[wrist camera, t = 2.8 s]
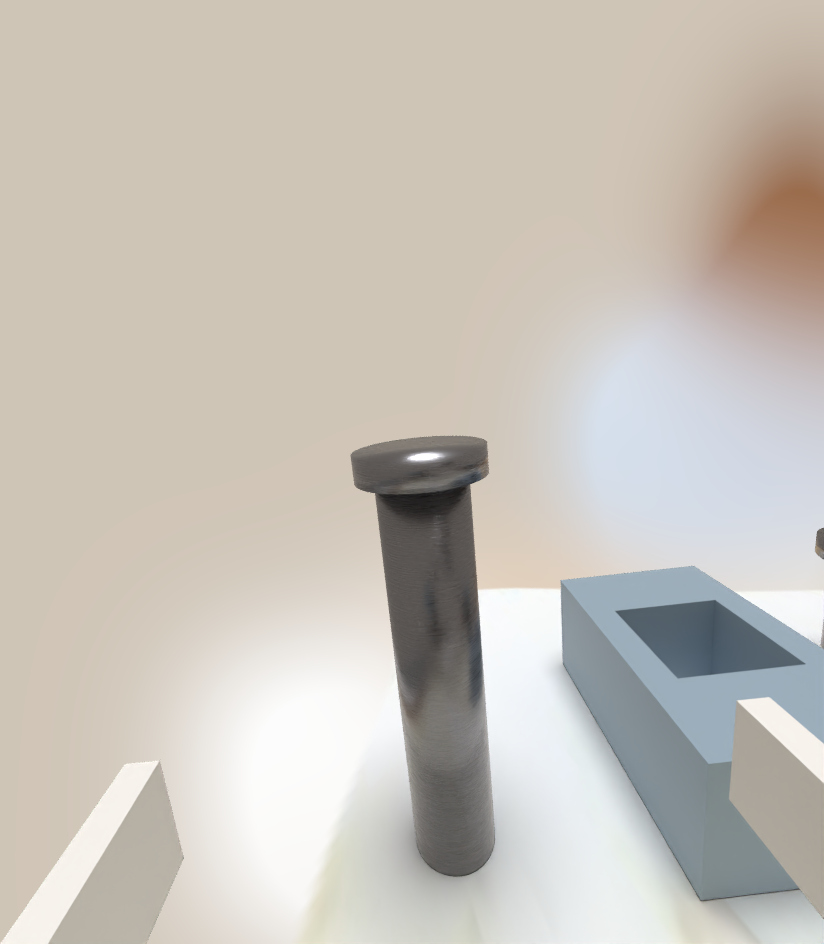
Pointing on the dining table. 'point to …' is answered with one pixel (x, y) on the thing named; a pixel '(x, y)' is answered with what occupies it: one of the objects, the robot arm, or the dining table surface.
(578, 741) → the dining table surface
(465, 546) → the tall pin
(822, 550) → the short pin
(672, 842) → the guide block
